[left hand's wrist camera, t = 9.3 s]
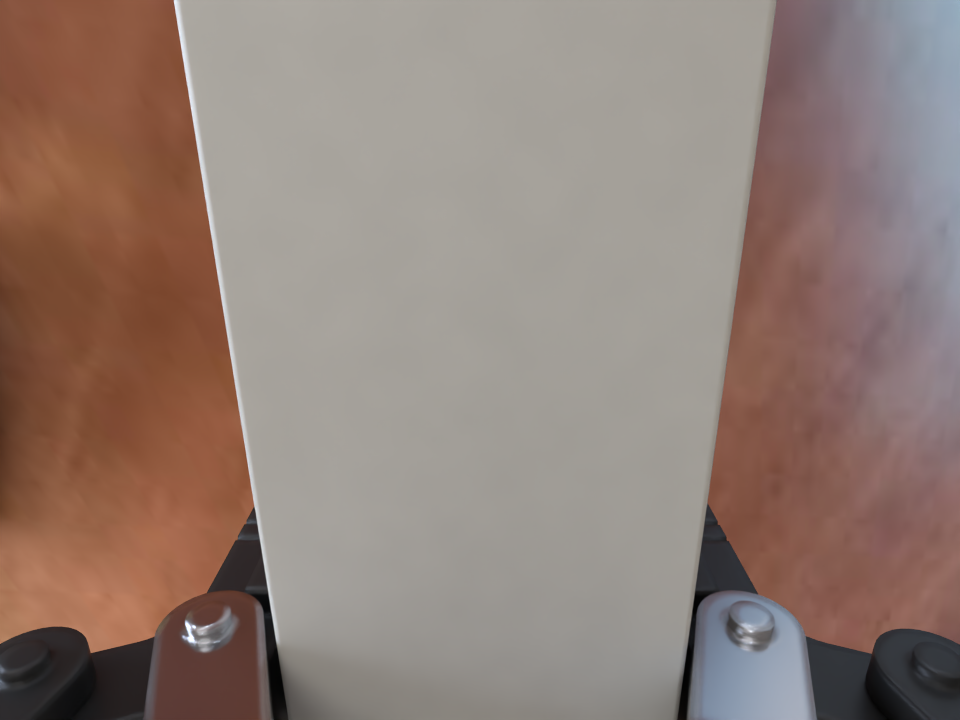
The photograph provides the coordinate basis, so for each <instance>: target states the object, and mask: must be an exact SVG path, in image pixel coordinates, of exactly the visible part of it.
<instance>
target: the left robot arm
mask: <svg viewBox="0 0 960 720" xmlns="http://www.w3.org/2000/svg"><path fill="white" fill-rule="evenodd" d="M717 522H718V521H717V519H716V518H715V516H714V514H713V512H712V511H711V509H710V507H709V505H708V503H707V508H706V515H705V523H704V530H703V537H702V544H701V552H700V559H699V566H698V573H697V580H696V588H695V595H694V602H693V609H692V617H691V624H690V631H689V638H688V645H687V653H686V660H685V667H684V674H683V682H682V689H681V696H680V703H679V711H678V718H677V720H960V645H959V644H957V643H955V642H953V641H951V640H949V639H947V638H944V637H942V636H939V635H936V634H933V633H930V632H925V631H921V630H914V629H896V630H891V631H888V632H885V633H884V634H882V635H880V637H879V638H878V639H877V640H876V643H875V645H874V649H873V652H872V654H870V653H866V652H861V651H857V650H853V649H849V648H844V647H840V646H836V645H832V644H828V643H824V642H821V641H817V640H815V639H812V638H809V637H807V636H805V633H804V630H803V628H802V627H801V625H800V623H799V622H798V621H797V619H796V618H795V617H794V616H793V615H792V614H791V613H790V612H789V611H787V610H786V609H785V608H784V607H782V606H781V605H779V604H777V603H776V602H774V601H772V600H770V599H768V598H766V597H763V596H760V595H758V593H757V591H756V590H755V588H754V586H753V584H752V582H751V581H750V579H749V577H748V575H747V573H746V572H745V570H744V568H743V566H742V564H741V563H740V561H739V559H738V557H737V555H736V554H735V552H734V550H733V548H732V546H731V545H730V543H729V541H727V540H726V536H725V534H724V532H723V530H722V528H721V527H720V525H718V523H717ZM0 720H289V719H288V712H287V706H286V700H285V694H284V687H283V681H282V675H281V669H280V662H279V656H278V650H277V643H276V637H275V631H274V625H273V618H272V612H271V606H270V600H269V593H268V587H267V581H266V574H265V568H264V562H263V556H262V549H261V543H260V537H259V531H258V524H257V518H256V512H255V506H254V508H253V510H252V512H251V514H250V515H249V517H248V519H247V523H246V524H244V526H243V528H242V530H241V532H240V534H239V535H238V540H236V541H235V543H234V544H233V546H232V548H231V550H230V552H229V554H228V555H227V557H226V559H225V561H224V563H223V564H222V566H221V568H220V570H219V572H218V574H217V575H216V577H215V579H214V581H213V583H212V585H211V586H210V588H209V590H208V592H207V593H206V594H203V595H200V596H197V597H195V598H192V599H190V600H188V601H186V602H184V603H183V604H181V605H180V606H178V607H176V608H175V609H174V610H173V611H171V612H170V613H169V614H168V615H167V616H166V617H165V618H164V619H163V621H162V622H161V623H160V625H159V627H158V629H157V631H156V633H155V637H153V638H150V639H147V640H144V641H140V642H137V643H132V644H128V645H124V646H120V647H116V648H111V649H107V650H103V651H99V652H94V653H90V649H89V645H88V642H87V640H86V638H85V636H84V635H83V634H82V633H80V632H79V631H77V630H75V629H72V628H67V627H48V628H41V629H37V630H32V631H29V632H26V633H23V634H21V635H18V636H16V637H13V638H11V639H9V640H7V641H5V642H3V643H1V644H0Z"/></svg>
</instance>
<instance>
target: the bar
mask: <svg viewBox="0 0 960 720" xmlns="http://www.w3.org/2000/svg"><path fill="white" fill-rule="evenodd" d="M776 2H777V0H174V4H175V10H176V16H177V22H178V29H179V35H180V41H181V48H182V54H183V60H184V66H185V73H186V79H187V85H188V91H189V98H190V104H191V110H192V117H193V123H194V129H195V135H196V142H197V148H198V154H199V160H200V167H201V173H202V179H203V186H204V192H205V198H206V204H207V211H208V217H209V223H210V229H211V236H212V242H213V248H214V255H215V261H216V267H217V273H218V280H219V286H220V292H221V298H222V305H223V311H224V317H225V324H226V330H227V336H228V342H229V349H230V355H231V361H232V367H233V374H234V380H235V386H236V393H237V399H238V405H239V411H240V418H241V424H242V430H243V436H244V443H245V449H246V455H247V462H248V468H249V474H250V480H251V487H252V493H253V499H254V505H255V512H256V518H257V524H258V531H259V537H260V543H261V549H262V556H263V562H264V568H265V574H266V581H267V587H268V593H269V600H270V606H271V612H272V618H273V625H274V631H275V637H276V643H277V650H278V656H279V662H280V669H281V675H282V681H283V687H284V694H285V700H286V706H287V712H288V719H289V720H677V718H678V711H679V703H680V696H681V689H682V682H683V674H684V667H685V660H686V653H687V645H688V638H689V631H690V624H691V617H692V609H693V602H694V595H695V588H696V580H697V573H698V566H699V559H700V552H701V544H702V537H703V530H704V523H705V515H706V508H707V501H708V494H709V486H710V479H711V472H712V465H713V458H714V450H715V443H716V436H717V429H718V421H719V414H720V407H721V400H722V392H723V385H724V378H725V371H726V364H727V356H728V349H729V342H730V335H731V327H732V320H733V313H734V306H735V298H736V291H737V284H738V277H739V270H740V262H741V255H742V248H743V241H744V233H745V226H746V219H747V212H748V204H749V197H750V190H751V183H752V176H753V168H754V161H755V154H756V147H757V139H758V132H759V125H760V118H761V110H762V103H763V96H764V89H765V82H766V74H767V67H768V60H769V53H770V45H771V38H772V31H773V24H774V17H775V9H776Z"/></svg>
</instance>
